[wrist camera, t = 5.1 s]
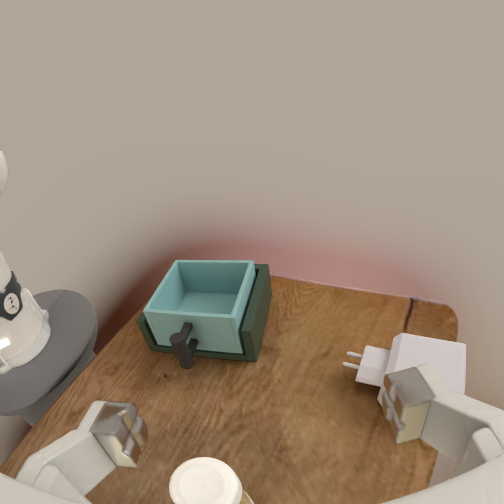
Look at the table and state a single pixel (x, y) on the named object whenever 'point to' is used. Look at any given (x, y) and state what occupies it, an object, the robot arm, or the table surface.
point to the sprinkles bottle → (206, 483)
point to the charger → (413, 361)
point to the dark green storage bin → (250, 328)
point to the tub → (201, 307)
